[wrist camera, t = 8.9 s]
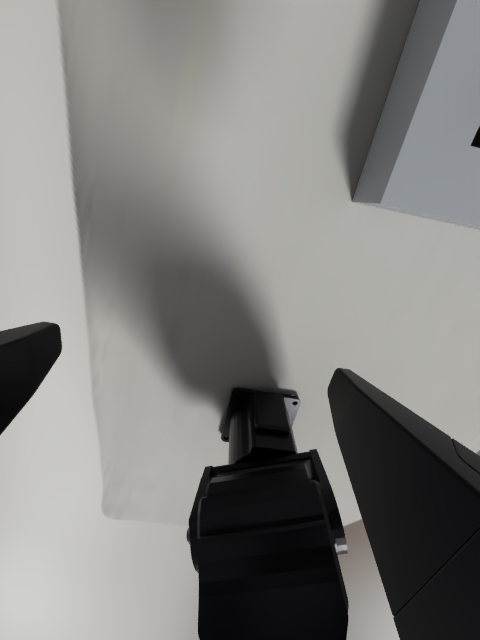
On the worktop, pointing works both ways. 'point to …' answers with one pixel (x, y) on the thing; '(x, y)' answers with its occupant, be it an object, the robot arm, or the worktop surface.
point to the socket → (431, 121)
